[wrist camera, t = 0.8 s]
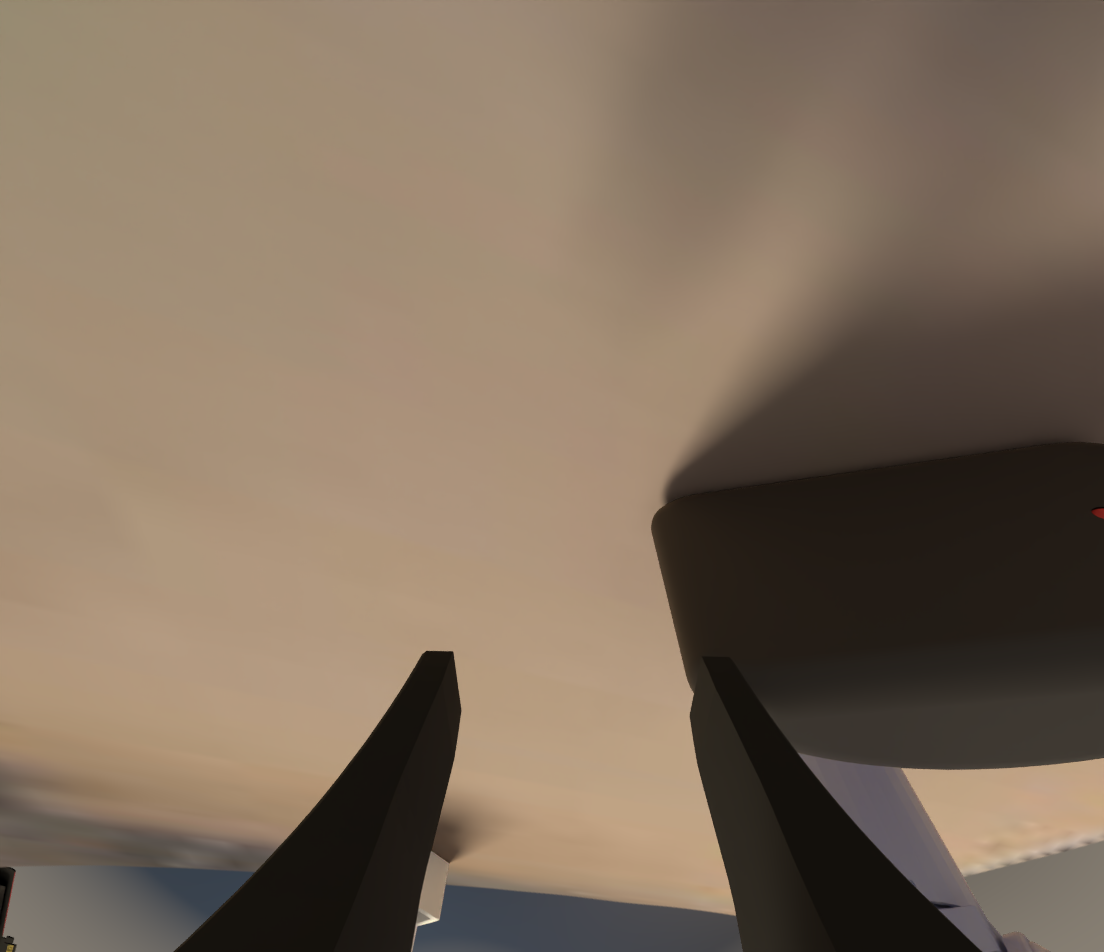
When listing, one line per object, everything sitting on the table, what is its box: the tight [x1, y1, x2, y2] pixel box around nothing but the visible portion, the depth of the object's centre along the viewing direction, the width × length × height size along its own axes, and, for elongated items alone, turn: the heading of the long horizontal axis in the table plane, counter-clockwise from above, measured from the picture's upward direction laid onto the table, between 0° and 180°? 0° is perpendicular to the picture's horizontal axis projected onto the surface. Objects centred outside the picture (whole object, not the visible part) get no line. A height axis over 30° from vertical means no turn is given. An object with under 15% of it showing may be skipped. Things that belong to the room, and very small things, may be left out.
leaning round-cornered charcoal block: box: [651, 442, 1104, 770], centre depth 16 cm, size 16×5×9 cm, turn 101°
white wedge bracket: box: [411, 851, 449, 952], centre depth 32 cm, size 4×10×9 cm, turn 33°
